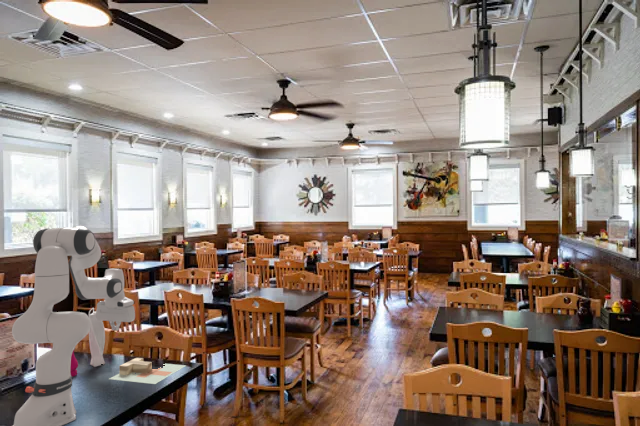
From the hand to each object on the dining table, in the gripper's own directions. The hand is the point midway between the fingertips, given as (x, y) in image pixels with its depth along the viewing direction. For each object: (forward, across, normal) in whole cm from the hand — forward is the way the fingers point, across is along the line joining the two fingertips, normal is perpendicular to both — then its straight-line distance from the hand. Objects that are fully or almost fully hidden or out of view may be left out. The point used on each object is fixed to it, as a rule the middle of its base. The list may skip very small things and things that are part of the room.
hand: (115, 330), depth 216 cm
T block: (+19, +13, 0) cm, 23 cm away
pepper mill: (+19, -16, -12) cm, 28 cm away
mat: (+19, +18, 0) cm, 27 cm away
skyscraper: (+19, -15, +4) cm, 25 cm away
